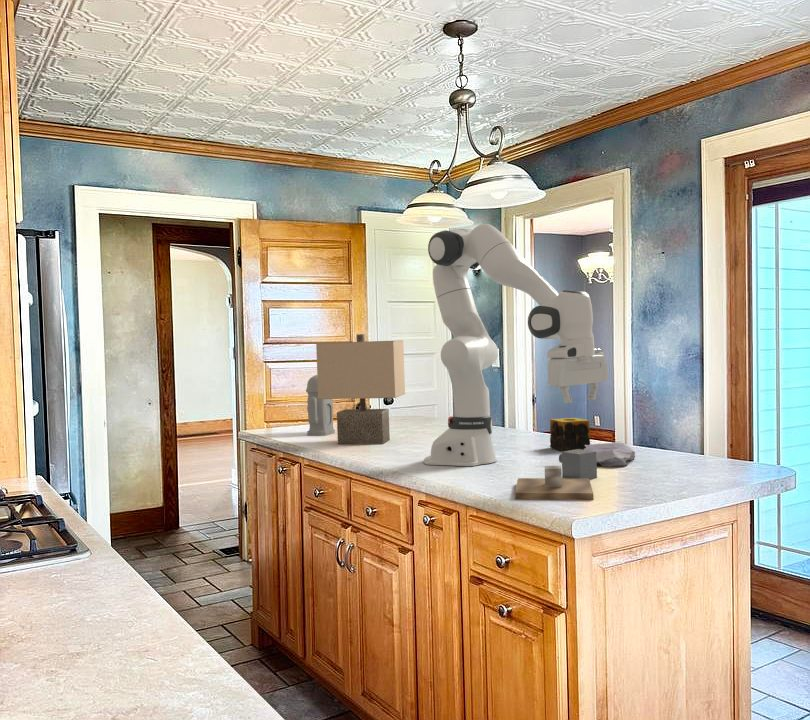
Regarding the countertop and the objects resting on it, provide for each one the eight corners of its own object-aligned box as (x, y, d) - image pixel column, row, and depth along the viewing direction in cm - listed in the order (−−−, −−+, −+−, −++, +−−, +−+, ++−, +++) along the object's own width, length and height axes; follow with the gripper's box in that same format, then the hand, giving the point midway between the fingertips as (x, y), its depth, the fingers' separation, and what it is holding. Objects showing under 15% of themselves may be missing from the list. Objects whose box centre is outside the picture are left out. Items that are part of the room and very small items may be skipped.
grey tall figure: (315, 431, 319) (313, 374, 319) (338, 431, 317) (336, 373, 316) (302, 436, 305) (300, 375, 304) (326, 436, 303) (324, 375, 302)
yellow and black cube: (563, 452, 242) (562, 421, 242) (549, 448, 252) (548, 419, 252) (591, 450, 245) (590, 420, 245) (575, 446, 255) (575, 417, 255)
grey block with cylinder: (580, 480, 194) (579, 454, 194) (554, 476, 202) (553, 450, 202) (596, 477, 198) (596, 451, 197) (570, 473, 205) (570, 447, 205)
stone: (625, 469, 210) (625, 451, 210) (573, 466, 217) (573, 449, 217) (639, 458, 227) (639, 441, 227) (591, 456, 235) (590, 440, 235)
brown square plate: (515, 499, 175) (514, 473, 175) (518, 484, 193) (517, 461, 192) (593, 499, 172) (592, 474, 171) (589, 484, 189) (588, 460, 189)
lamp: (319, 445, 276) (315, 335, 275) (334, 439, 293) (330, 335, 292) (396, 445, 270) (393, 332, 269) (406, 438, 288) (403, 332, 286)
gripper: (594, 348, 207) (596, 397, 207) (542, 352, 195) (545, 404, 195) (612, 347, 202) (614, 398, 202) (560, 351, 190) (563, 405, 190)
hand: (580, 401), depth 199 cm, fingers open, 8 cm apart
